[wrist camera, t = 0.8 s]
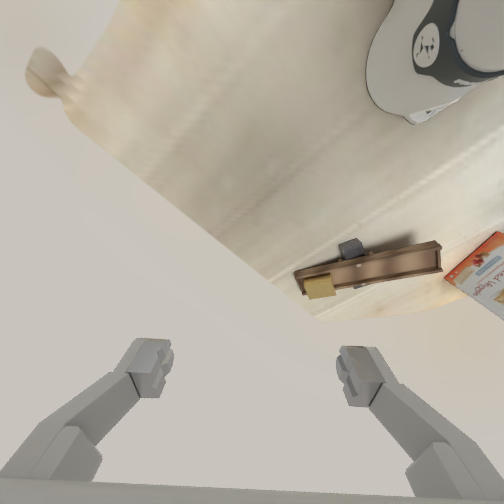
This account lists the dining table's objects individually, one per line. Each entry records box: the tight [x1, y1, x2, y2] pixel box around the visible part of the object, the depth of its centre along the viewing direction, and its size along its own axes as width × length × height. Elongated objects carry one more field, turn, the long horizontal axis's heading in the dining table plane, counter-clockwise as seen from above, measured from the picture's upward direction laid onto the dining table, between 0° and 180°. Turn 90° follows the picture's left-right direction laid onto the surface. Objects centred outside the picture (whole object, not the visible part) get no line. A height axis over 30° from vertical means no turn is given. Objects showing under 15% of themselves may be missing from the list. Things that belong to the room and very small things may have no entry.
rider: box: [304, 272, 336, 299], centre depth 46 cm, size 6×4×4 cm, turn 113°
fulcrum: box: [339, 238, 370, 289], centre depth 46 cm, size 4×12×2 cm, turn 25°
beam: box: [295, 240, 443, 295], centre depth 44 cm, size 28×6×4 cm, turn 113°
